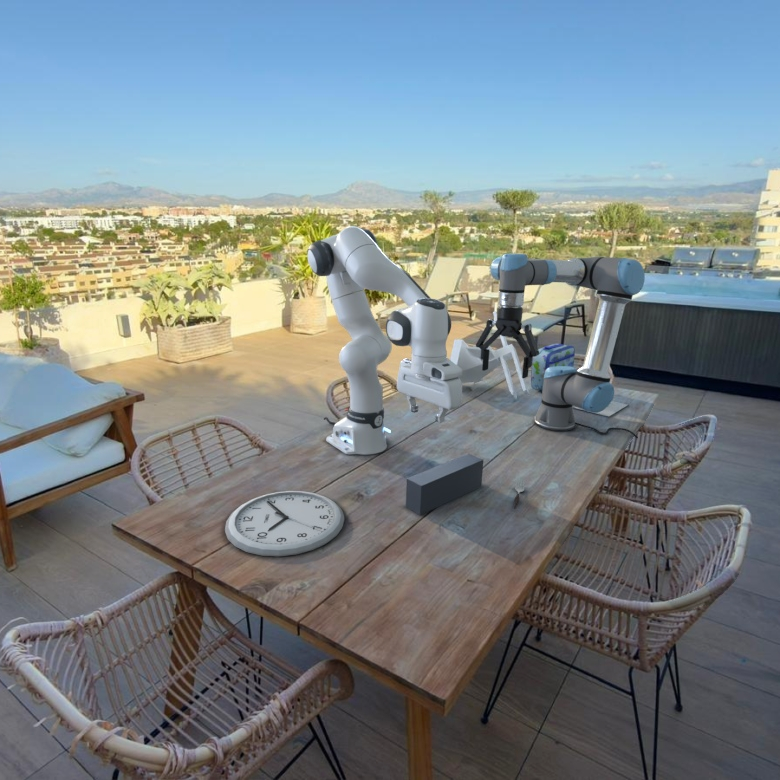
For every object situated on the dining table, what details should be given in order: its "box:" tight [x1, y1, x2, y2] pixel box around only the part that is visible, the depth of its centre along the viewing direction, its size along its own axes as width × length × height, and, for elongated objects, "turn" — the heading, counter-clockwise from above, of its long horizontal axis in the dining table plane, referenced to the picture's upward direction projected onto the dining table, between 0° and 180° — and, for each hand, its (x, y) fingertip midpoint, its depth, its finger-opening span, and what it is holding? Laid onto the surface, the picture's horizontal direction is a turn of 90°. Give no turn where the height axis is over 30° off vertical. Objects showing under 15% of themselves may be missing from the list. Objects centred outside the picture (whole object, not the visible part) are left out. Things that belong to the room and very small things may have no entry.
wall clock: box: [224, 490, 345, 557], centre depth 134 cm, size 30×2×30 cm
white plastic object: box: [449, 310, 531, 400], centre depth 245 cm, size 37×45×31 cm
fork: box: [513, 478, 526, 510], centre depth 148 cm, size 3×16×2 cm, turn 160°
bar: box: [405, 453, 484, 516], centre depth 147 cm, size 26×6×9 cm, turn 131°
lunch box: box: [530, 343, 576, 391], centre depth 249 cm, size 26×11×21 cm, turn 134°
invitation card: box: [573, 400, 629, 418], centre depth 226 cm, size 21×1×15 cm
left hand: (426, 416), depth 135 cm, fingers open, 8 cm apart
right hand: (504, 373), depth 165 cm, fingers open, 13 cm apart
